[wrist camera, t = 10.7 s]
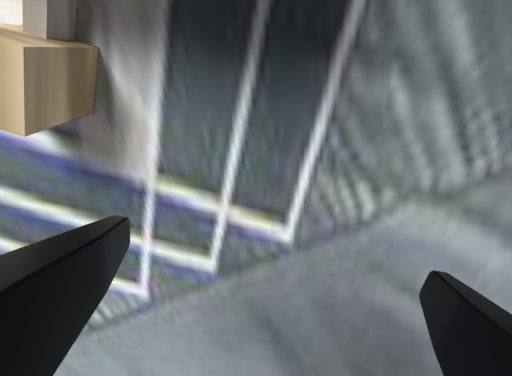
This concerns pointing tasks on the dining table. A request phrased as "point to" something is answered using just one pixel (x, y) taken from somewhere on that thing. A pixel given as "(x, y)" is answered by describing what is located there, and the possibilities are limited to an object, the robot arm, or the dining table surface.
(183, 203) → the dining table surface
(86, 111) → the wooden mallet
